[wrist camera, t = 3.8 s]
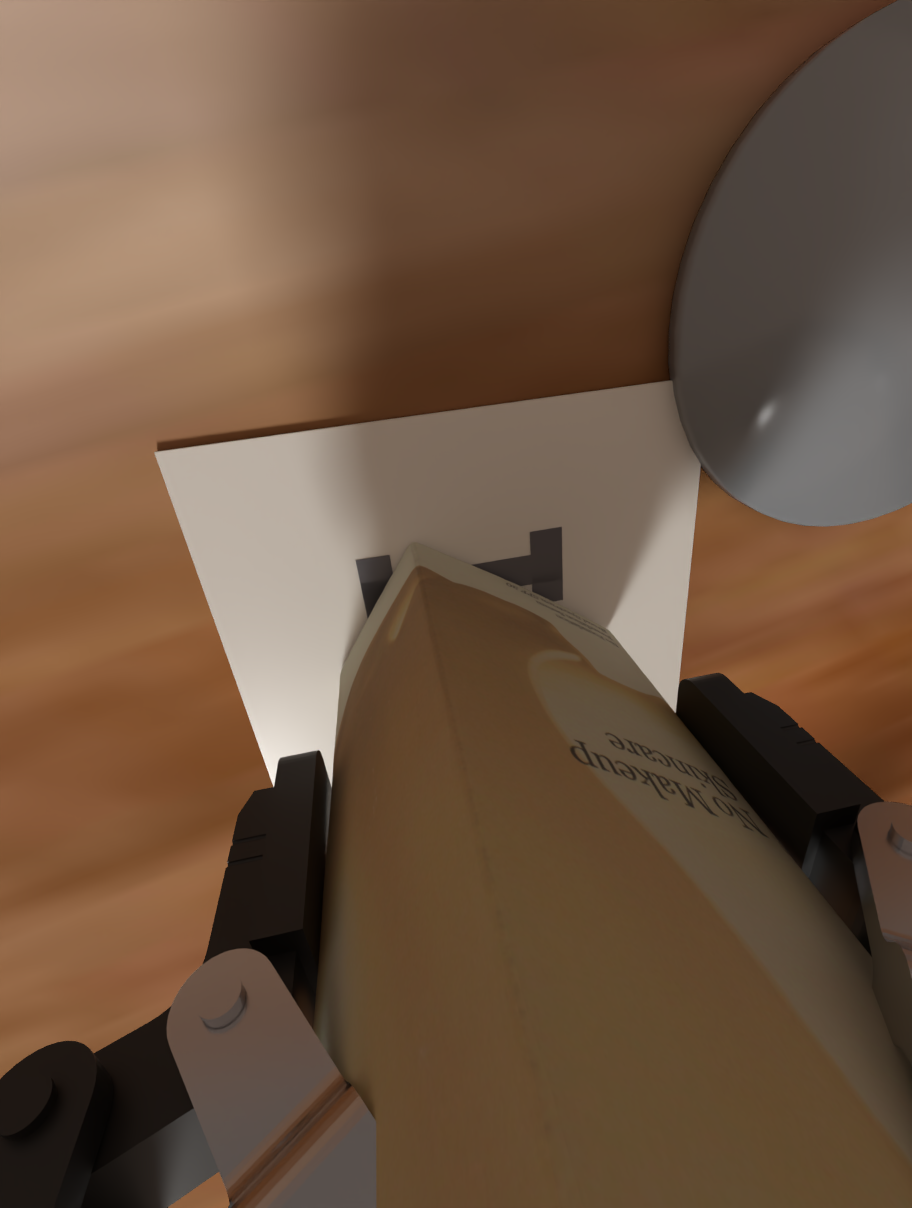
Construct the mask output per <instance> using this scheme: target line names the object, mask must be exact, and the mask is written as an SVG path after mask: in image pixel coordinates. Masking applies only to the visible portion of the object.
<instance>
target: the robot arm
mask: <svg viewBox="0 0 912 1208" xmlns="http://www.w3.org/2000/svg"><path fill="white" fill-rule="evenodd" d="M676 714H677V716H678V717H679V718H680V719H681V721H682V722H683V723H684V724H685V726H686V727H687V728H688V729H689V731H690V732H691V733H692V734H693V735H694V737H695V738H696V739H697V740H698V742H699V743H700V744H701V745H702V746H703V748H704V749H705V750H706V751H707V753H708V754H709V755H710V756H711V758H712V759H713V760H714V761H715V762H716V764H717V765H718V766H719V767H720V769H721V770H722V771H723V772H724V774H725V775H726V776H727V777H728V779H729V780H730V781H731V783H732V784H733V785H734V786H735V788H736V789H737V790H738V791H739V793H740V794H741V795H742V796H743V798H744V799H745V800H746V801H747V802H748V804H749V805H750V806H751V807H752V809H753V810H754V811H755V812H756V814H757V815H758V816H759V817H760V819H761V820H762V821H763V822H764V824H765V825H766V826H767V827H768V829H769V830H770V831H771V832H772V834H773V835H774V836H775V837H776V839H777V840H778V841H779V842H780V844H781V845H782V846H783V847H784V849H785V850H786V851H787V852H788V854H789V855H790V856H791V857H792V858H793V860H794V861H795V862H796V863H797V865H798V866H799V867H800V868H801V870H802V871H803V872H804V873H805V875H806V876H807V877H808V878H809V880H810V881H811V882H812V883H813V885H814V886H815V887H816V888H817V890H818V891H819V892H820V893H821V895H822V896H823V897H824V898H825V899H826V901H827V902H828V903H829V904H830V906H831V907H832V908H833V909H834V911H835V912H836V913H837V914H838V916H839V917H840V918H841V919H842V921H843V922H844V923H845V924H846V926H847V927H848V928H849V929H850V931H851V932H852V933H853V934H854V935H855V937H856V938H857V939H858V940H859V942H860V943H861V944H862V945H863V947H864V948H865V949H866V950H867V952H868V953H869V954H870V955H871V957H872V964H873V979H872V989H873V992H874V995H875V997H876V1000H877V1002H878V1005H879V1008H880V1010H881V1013H882V1016H883V1018H884V1021H885V1023H886V1026H887V1029H888V1031H889V1034H890V1036H891V1039H892V1042H893V1044H894V1046H896V1047H898V1048H900V1049H901V1050H903V1051H904V1053H905V1054H906V1056H907V1059H908V1061H909V1063H910V1066H911V1069H912V806H911V805H907V804H903V803H896V802H885V801H883V800H882V799H881V798H880V797H879V796H878V795H877V794H876V793H874V792H873V791H872V790H871V789H870V788H869V787H868V786H867V785H865V784H864V783H863V782H862V781H861V780H860V779H859V778H858V777H857V776H855V775H854V774H853V773H852V772H851V771H850V770H849V769H848V768H847V767H845V766H844V765H843V764H842V763H841V762H840V761H839V760H838V759H837V758H835V757H834V756H833V755H832V754H831V753H830V752H829V751H828V750H827V749H825V748H824V747H823V746H822V745H821V744H820V743H816V742H815V740H814V738H813V737H812V736H811V735H810V734H809V733H808V732H806V731H805V730H804V729H803V728H802V727H801V728H799V727H798V723H796V722H795V721H794V720H793V719H792V718H791V717H790V716H789V715H788V714H786V713H785V712H784V711H783V710H782V709H781V708H780V707H779V706H777V705H775V704H773V703H771V702H769V701H767V700H765V699H763V698H761V697H760V696H758V695H756V694H754V693H752V692H750V693H745V694H744V693H743V692H742V691H741V690H740V689H739V688H738V687H736V686H735V685H734V684H733V683H732V682H731V681H730V680H729V679H728V678H727V677H726V676H724V675H723V674H721V673H714V674H709V675H704V676H699V677H694V678H689V679H684V680H682V681H681V682H680V684H679V687H678V695H677V705H676ZM331 790H332V787H331V784H330V780H329V777H328V774H327V770H326V767H325V763H324V760H323V757H322V754H321V752H320V751H319V750H316V751H311V752H306V753H301V754H296V755H291V756H286V757H281V758H280V759H279V761H278V766H277V772H276V778H275V784H274V787H272V788H267V789H262V790H257V791H254V792H253V794H252V795H251V797H250V798H249V800H248V801H247V803H246V804H245V806H244V807H243V809H242V810H241V812H240V813H239V814H238V817H237V822H236V826H235V831H234V835H233V839H232V842H233V846H231V848H230V853H229V857H228V861H227V863H228V867H227V868H226V870H225V875H224V879H223V883H222V888H221V892H220V897H219V901H218V905H217V910H216V914H215V919H214V923H213V927H212V932H211V936H210V941H209V945H208V949H207V953H206V956H205V960H204V962H203V964H202V966H200V967H199V968H198V969H197V970H196V971H195V972H194V973H193V974H192V975H191V976H190V977H189V978H188V979H187V980H186V982H185V983H184V984H183V986H182V987H181V989H180V990H179V992H178V994H177V995H176V997H175V999H174V1001H173V1004H172V1006H171V1007H170V1008H169V1009H167V1010H166V1011H165V1012H163V1013H162V1014H161V1015H160V1016H158V1017H157V1018H155V1019H153V1020H152V1021H150V1022H149V1023H147V1024H145V1025H143V1026H142V1027H140V1028H138V1029H136V1030H134V1031H133V1032H131V1033H129V1034H127V1035H126V1036H124V1037H122V1038H120V1039H119V1040H117V1041H115V1042H113V1043H111V1044H110V1045H108V1046H106V1047H104V1048H103V1049H101V1050H99V1051H97V1052H96V1053H94V1054H93V1052H92V1051H91V1050H90V1049H89V1048H88V1047H87V1046H85V1045H84V1044H82V1043H79V1042H76V1041H63V1042H57V1043H54V1044H51V1045H48V1046H46V1047H44V1048H41V1049H39V1050H37V1051H36V1052H34V1053H32V1054H31V1055H29V1056H27V1057H26V1058H24V1059H23V1060H22V1061H20V1062H19V1063H18V1064H16V1065H15V1066H14V1067H13V1068H12V1069H11V1070H9V1071H8V1072H7V1073H6V1074H5V1075H4V1076H3V1077H2V1078H1V1079H0V1208H168V1206H170V1205H171V1204H173V1203H174V1202H176V1201H177V1200H179V1199H180V1198H181V1197H183V1196H184V1195H186V1194H187V1193H189V1192H190V1191H191V1190H193V1189H194V1188H196V1187H197V1186H199V1185H200V1184H202V1183H203V1182H204V1181H206V1180H207V1179H209V1178H210V1177H212V1176H213V1175H215V1174H216V1173H217V1172H220V1175H221V1177H222V1180H223V1183H224V1185H225V1188H226V1191H227V1194H228V1197H229V1202H230V1205H229V1207H228V1208H376V1121H375V1119H374V1117H373V1116H372V1114H371V1113H370V1111H369V1110H368V1108H367V1106H366V1105H365V1103H364V1102H363V1100H362V1099H361V1097H360V1096H359V1094H358V1093H357V1092H356V1090H355V1089H354V1087H353V1086H352V1085H351V1084H350V1083H349V1082H347V1081H346V1080H345V1079H344V1078H343V1076H342V1075H341V1073H340V1072H339V1070H338V1069H337V1067H336V1066H335V1064H334V1063H333V1061H332V1059H331V1058H330V1056H329V1055H328V1053H327V1051H326V1050H325V1048H324V1047H323V1045H322V1043H321V1042H320V1040H319V1039H318V1037H317V1035H316V1034H315V1032H314V1031H313V1025H314V1013H315V1001H316V989H317V977H318V965H319V950H320V936H321V922H322V904H323V888H324V875H325V864H326V853H327V841H328V829H329V816H330V803H331Z"/></svg>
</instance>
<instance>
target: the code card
mask: <svg viewBox="0 0 912 1208" xmlns="http://www.w3.org/2000/svg"><path fill="white" fill-rule="evenodd" d="M154 453H155V456H156V459H157V461H158V464H159V467H160V470H161V473H162V475H163V478H164V481H165V484H166V487H167V489H168V492H169V495H170V498H171V501H172V503H173V506H174V509H175V512H176V515H177V517H178V520H179V523H180V526H181V529H182V531H183V534H184V537H185V540H186V543H187V545H188V548H189V551H190V554H191V557H192V559H193V562H194V565H195V568H196V571H197V573H198V576H199V579H200V582H201V585H202V587H203V590H204V593H205V596H206V599H207V601H208V604H209V607H210V610H211V613H212V615H213V618H214V621H215V624H216V627H217V629H218V632H219V635H220V638H221V641H222V644H223V646H224V649H225V652H226V655H227V658H228V660H229V663H230V666H231V669H232V672H233V674H234V677H235V680H236V683H237V686H238V688H239V691H240V694H241V697H242V700H243V702H244V705H245V708H246V711H247V714H248V716H249V719H250V722H251V725H252V728H253V730H254V733H255V736H256V739H257V742H258V744H259V747H260V750H261V753H262V756H263V758H264V761H265V764H266V767H267V770H268V772H269V775H270V778H271V781H272V784H273V786H274V784H275V778H276V772H277V766H278V761H279V759H280V758H281V757H286V756H291V755H296V754H301V753H306V752H311V751H316V750H319V751H320V752H321V754H322V757H323V760H324V763H325V767H326V770H327V774H328V777H329V780H330V784H331V787H332V776H333V760H334V747H335V736H336V724H337V712H338V698H339V685H340V674H341V670H342V668H343V666H344V664H345V662H346V660H347V658H348V656H349V654H350V652H351V650H352V648H353V646H354V644H355V642H356V640H357V638H358V636H359V635H360V633H361V631H362V629H363V627H364V625H365V623H366V621H367V619H368V617H369V616H370V614H371V612H372V610H373V608H374V606H375V604H376V602H377V601H378V599H379V597H380V595H381V594H382V592H383V590H384V588H385V586H386V584H387V583H388V581H389V579H390V577H391V576H392V574H393V572H394V570H395V569H396V567H397V565H398V563H399V562H400V560H401V558H402V556H403V555H404V553H405V551H406V549H407V547H408V546H409V545H410V543H412V542H417V543H420V544H422V545H425V546H427V547H430V548H432V549H434V550H437V551H439V552H441V553H444V554H446V555H449V556H451V557H454V558H456V559H458V560H461V561H463V562H466V563H468V564H470V565H473V566H475V567H477V568H480V569H482V570H484V571H487V572H489V573H492V574H494V575H496V576H499V577H501V578H503V579H505V580H507V581H510V582H512V583H515V584H517V585H519V586H521V587H523V588H525V589H527V590H530V591H532V592H534V593H536V594H538V595H541V596H543V597H545V598H547V599H549V600H551V601H553V602H555V603H557V604H559V605H561V606H563V607H566V608H567V609H569V610H571V611H573V612H575V613H577V614H579V615H581V616H583V617H585V618H587V619H589V620H591V621H593V622H595V623H597V624H599V625H601V626H602V627H604V628H606V629H608V630H609V631H610V632H611V633H612V634H613V635H614V636H615V638H616V639H617V640H618V642H619V643H620V644H621V645H622V647H623V648H624V649H625V650H626V652H627V653H628V654H629V655H630V657H631V658H632V659H633V660H634V661H635V663H636V664H637V665H638V667H639V668H640V669H641V671H642V672H643V673H644V674H645V675H646V677H647V678H648V679H649V680H650V682H651V683H652V684H653V685H654V687H655V688H656V689H657V690H658V692H659V693H660V694H661V695H662V697H663V698H664V699H665V701H666V702H667V703H668V704H669V706H670V707H671V708H672V709H673V711H674V712H675V713H676V705H677V695H678V687H679V677H680V667H681V657H682V647H683V637H684V627H685V617H686V607H687V597H688V587H689V577H690V567H691V557H692V548H693V538H694V528H695V518H696V508H697V498H698V488H699V478H700V468H701V464H700V462H699V460H698V459H697V457H696V455H695V453H694V452H693V450H692V448H691V447H690V445H689V442H688V440H687V437H686V434H685V432H684V429H683V427H682V424H681V422H680V418H679V414H678V409H677V405H676V401H675V397H674V391H673V381H671V380H668V381H661V382H654V383H647V384H640V385H632V386H625V387H618V388H611V389H603V390H596V391H589V392H582V393H574V394H567V395H560V396H553V397H545V398H538V399H531V400H524V401H517V402H509V403H502V404H495V405H488V406H480V407H473V408H466V409H459V410H451V411H444V412H437V413H430V414H423V415H415V416H408V417H401V418H394V419H386V420H379V421H372V422H365V423H357V424H350V425H343V426H336V427H328V428H321V429H314V430H307V431H300V432H292V433H285V434H278V435H271V436H263V437H256V438H249V439H242V440H234V441H227V442H220V443H213V444H206V445H198V446H191V447H184V448H177V449H169V450H162V451H156V452H154Z"/></svg>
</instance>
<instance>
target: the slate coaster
mask: <svg viewBox="0 0 912 1208" xmlns="http://www.w3.org/2000/svg"><path fill="white" fill-rule="evenodd" d="M668 365H669V374H670V380H671V381H673V391H674V397H675V401H676V405H677V409H678V414H679V418H680V422H681V424H682V427H683V429H684V432H685V434H686V437H687V440H688V442H689V445H690V447H691V448H692V450H693V452H694V453H695V455H696V457H697V459H698V460H699V462H700V464H701V467H702V469H703V470H704V471H705V472H706V473H707V475H708V476H709V477H710V478H711V480H712V481H713V482H714V483H715V484H716V485H718V486H719V487H720V488H721V489H722V490H723V491H725V492H726V493H727V494H728V495H729V496H730V497H732V498H734V499H736V500H737V501H739V502H741V503H742V504H744V505H746V506H748V507H749V508H752V509H754V510H756V511H758V512H760V513H762V514H765V515H767V516H770V517H773V518H776V519H778V520H781V521H784V522H789V523H794V524H799V525H804V526H836V525H845V524H852V523H856V522H861V521H865V520H869V519H873V518H876V517H879V516H882V515H884V514H887V513H890V512H893V511H896V510H898V509H900V508H902V507H904V506H906V505H908V504H910V503H912V0H897V1H896V2H894V3H892V4H890V5H888V6H886V7H884V8H883V9H881V10H879V11H877V12H875V13H873V14H872V15H870V16H868V17H867V18H865V19H863V20H862V21H860V22H858V23H857V24H855V25H853V26H851V27H850V28H848V29H847V30H845V31H844V32H842V33H841V34H840V35H838V36H837V37H836V38H834V39H833V40H831V41H830V42H829V43H827V44H826V45H824V46H823V47H822V48H820V49H819V50H818V51H816V52H815V53H814V54H813V55H812V56H810V57H809V58H808V59H807V60H806V61H805V62H804V63H803V64H802V65H801V66H800V67H799V68H798V69H796V70H795V71H794V72H793V73H792V74H791V75H790V76H789V77H788V78H787V79H786V80H785V81H784V82H783V83H782V84H781V85H780V86H779V87H778V88H777V90H776V91H775V92H774V93H773V94H772V95H771V97H770V98H769V99H768V100H767V101H766V102H765V103H764V105H763V106H762V107H761V108H760V109H759V110H758V112H757V113H756V114H755V115H754V117H753V118H752V120H751V121H750V122H749V124H748V125H747V127H746V128H745V130H744V131H743V132H742V134H741V135H740V137H739V138H738V140H737V141H736V142H735V144H734V145H733V147H732V148H731V150H730V152H729V153H728V155H727V157H726V159H725V160H724V162H723V164H722V166H721V167H720V169H719V171H718V173H717V174H716V176H715V178H714V180H713V182H712V183H711V185H710V187H709V190H708V192H707V194H706V196H705V198H704V201H703V203H702V205H701V207H700V210H699V212H698V214H697V216H696V219H695V221H694V223H693V226H692V229H691V232H690V235H689V238H688V241H687V244H686V247H685V250H684V253H683V256H682V259H681V263H680V268H679V272H678V276H677V281H676V285H675V290H674V294H673V300H672V308H671V316H670V325H669V350H668Z"/></svg>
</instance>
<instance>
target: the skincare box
mask: <svg viewBox="0 0 912 1208" xmlns="http://www.w3.org/2000/svg"><path fill="white" fill-rule="evenodd" d="M872 979H873V964H872V957H871V955H870V954H869V953H868V952H867V950H866V949H865V948H864V947H863V945H862V944H861V943H860V942H859V940H858V939H857V938H856V937H855V935H854V934H853V933H852V932H851V931H850V929H849V928H848V927H847V926H846V924H845V923H844V922H843V921H842V919H841V918H840V917H839V916H838V914H837V913H836V912H835V911H834V909H833V908H832V907H831V906H830V904H829V903H828V902H827V901H826V899H825V898H824V897H823V896H822V895H821V893H820V892H819V891H818V890H817V888H816V887H815V886H814V885H813V883H812V882H811V881H810V880H809V878H808V877H807V876H806V875H805V873H804V872H803V871H802V870H801V868H800V867H799V866H798V865H797V863H796V862H795V861H794V860H793V858H792V857H791V856H790V855H789V854H788V852H787V851H786V850H785V849H784V847H783V846H782V845H781V844H780V842H779V841H778V840H777V839H776V837H775V836H774V835H773V834H772V832H771V831H770V830H769V829H768V827H767V826H766V825H765V824H764V822H763V821H762V820H761V819H760V817H759V816H758V815H757V814H756V812H755V811H754V810H753V809H752V807H751V806H750V805H749V804H748V802H747V801H746V800H745V799H744V798H743V796H742V795H741V794H740V793H739V791H738V790H737V789H736V788H735V786H734V785H733V784H732V783H731V781H730V780H729V779H728V777H727V776H726V775H725V774H724V772H723V771H722V770H721V769H720V767H719V766H718V765H717V764H716V762H715V761H714V760H713V759H712V758H711V756H710V755H709V754H708V753H707V751H706V750H705V749H704V748H703V746H702V745H701V744H700V743H699V742H698V740H697V739H696V738H695V737H694V735H693V734H692V733H691V732H690V731H689V729H688V728H687V727H686V726H685V724H684V723H683V722H682V721H681V719H680V718H679V717H678V716H677V714H676V713H675V712H674V711H673V709H672V708H671V707H670V706H669V704H668V703H667V702H666V701H665V699H664V698H663V697H662V695H661V694H660V693H659V692H658V690H657V689H656V688H655V687H654V685H653V684H652V683H651V682H650V680H649V679H648V678H647V677H646V675H645V674H644V673H643V672H642V671H641V669H640V668H639V667H638V665H637V664H636V663H635V661H634V660H633V659H632V658H631V657H630V655H629V654H628V653H627V652H626V650H625V649H624V648H623V647H622V645H621V644H620V643H619V642H618V640H617V639H616V638H615V636H614V635H613V634H612V633H611V632H610V631H609V630H608V629H606V628H604V627H602V626H601V625H599V624H597V623H595V622H593V621H591V620H589V619H587V618H585V617H583V616H581V615H579V614H577V613H575V612H573V611H571V610H569V609H567V608H566V607H563V606H561V605H559V604H557V603H555V602H553V601H551V600H549V599H547V598H545V597H543V596H541V595H538V594H536V593H534V592H532V591H530V590H527V589H525V588H523V587H521V586H519V585H517V584H515V583H512V582H510V581H507V580H505V579H503V578H501V577H499V576H496V575H494V574H492V573H489V572H487V571H484V570H482V569H480V568H477V567H475V566H473V565H470V564H468V563H466V562H463V561H461V560H458V559H456V558H454V557H451V556H449V555H446V554H444V553H441V552H439V551H437V550H434V549H432V548H430V547H427V546H425V545H422V544H420V543H417V542H412V543H410V545H409V546H408V547H407V549H406V551H405V553H404V555H403V556H402V558H401V560H400V562H399V563H398V565H397V567H396V569H395V570H394V572H393V574H392V576H391V577H390V579H389V581H388V583H387V584H386V586H385V588H384V590H383V592H382V594H381V595H380V597H379V599H378V601H377V602H376V604H375V606H374V608H373V610H372V612H371V614H370V616H369V617H368V619H367V621H366V623H365V625H364V627H363V629H362V631H361V633H360V635H359V636H358V638H357V640H356V642H355V644H354V646H353V648H352V650H351V652H350V654H349V656H348V658H347V660H346V662H345V664H344V666H343V668H342V670H341V674H340V685H339V698H338V712H337V724H336V736H335V747H334V760H333V776H332V790H331V803H330V816H329V829H328V841H327V853H326V864H325V875H324V888H323V904H322V922H321V936H320V950H319V965H318V977H317V989H316V1001H315V1013H314V1025H313V1031H314V1032H315V1034H316V1035H317V1037H318V1039H319V1040H320V1042H321V1043H322V1045H323V1047H324V1048H325V1050H326V1051H327V1053H328V1055H329V1056H330V1058H331V1059H332V1061H333V1063H334V1064H335V1066H336V1067H337V1069H338V1070H339V1072H340V1073H341V1075H342V1076H343V1078H344V1079H345V1080H346V1081H347V1082H349V1083H350V1084H351V1085H352V1086H353V1087H354V1089H355V1090H356V1092H357V1093H358V1094H359V1096H360V1097H361V1099H362V1100H363V1102H364V1103H365V1105H366V1106H367V1108H368V1110H369V1111H370V1113H371V1114H372V1116H373V1117H374V1119H375V1121H376V1208H912V1069H911V1066H910V1063H909V1061H908V1059H907V1056H906V1054H905V1053H904V1051H903V1050H901V1049H900V1048H898V1047H896V1046H894V1044H893V1042H892V1039H891V1036H890V1034H889V1031H888V1029H887V1026H886V1023H885V1021H884V1018H883V1016H882V1013H881V1010H880V1008H879V1005H878V1002H877V1000H876V997H875V995H874V992H873V989H872Z"/></svg>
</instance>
